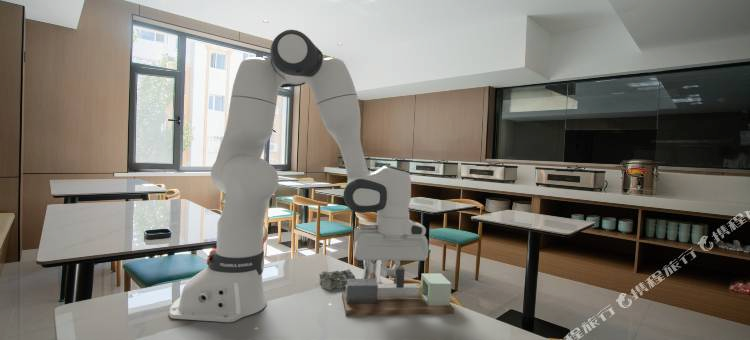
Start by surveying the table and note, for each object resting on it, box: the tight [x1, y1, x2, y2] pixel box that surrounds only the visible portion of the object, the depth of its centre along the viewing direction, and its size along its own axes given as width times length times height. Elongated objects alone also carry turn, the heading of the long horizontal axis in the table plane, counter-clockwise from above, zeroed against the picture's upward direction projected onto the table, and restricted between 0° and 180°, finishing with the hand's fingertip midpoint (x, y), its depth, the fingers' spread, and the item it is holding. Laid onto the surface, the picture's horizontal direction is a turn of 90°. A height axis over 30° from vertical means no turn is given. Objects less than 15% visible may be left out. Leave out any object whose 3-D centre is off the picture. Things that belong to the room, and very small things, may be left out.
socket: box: [420, 272, 452, 306], centre depth 102 cm, size 6×8×8 cm
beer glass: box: [361, 260, 382, 284], centre depth 117 cm, size 7×7×15 cm
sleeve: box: [345, 278, 378, 304], centre depth 99 cm, size 8×5×5 cm, turn 100°
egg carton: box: [318, 268, 357, 290], centre depth 113 cm, size 11×8×4 cm
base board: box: [341, 291, 455, 317], centre depth 100 cm, size 29×12×2 cm, turn 100°
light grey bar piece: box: [344, 265, 423, 299], centre depth 100 cm, size 21×3×8 cm, turn 100°
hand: (389, 275), depth 100 cm, fingers closed
